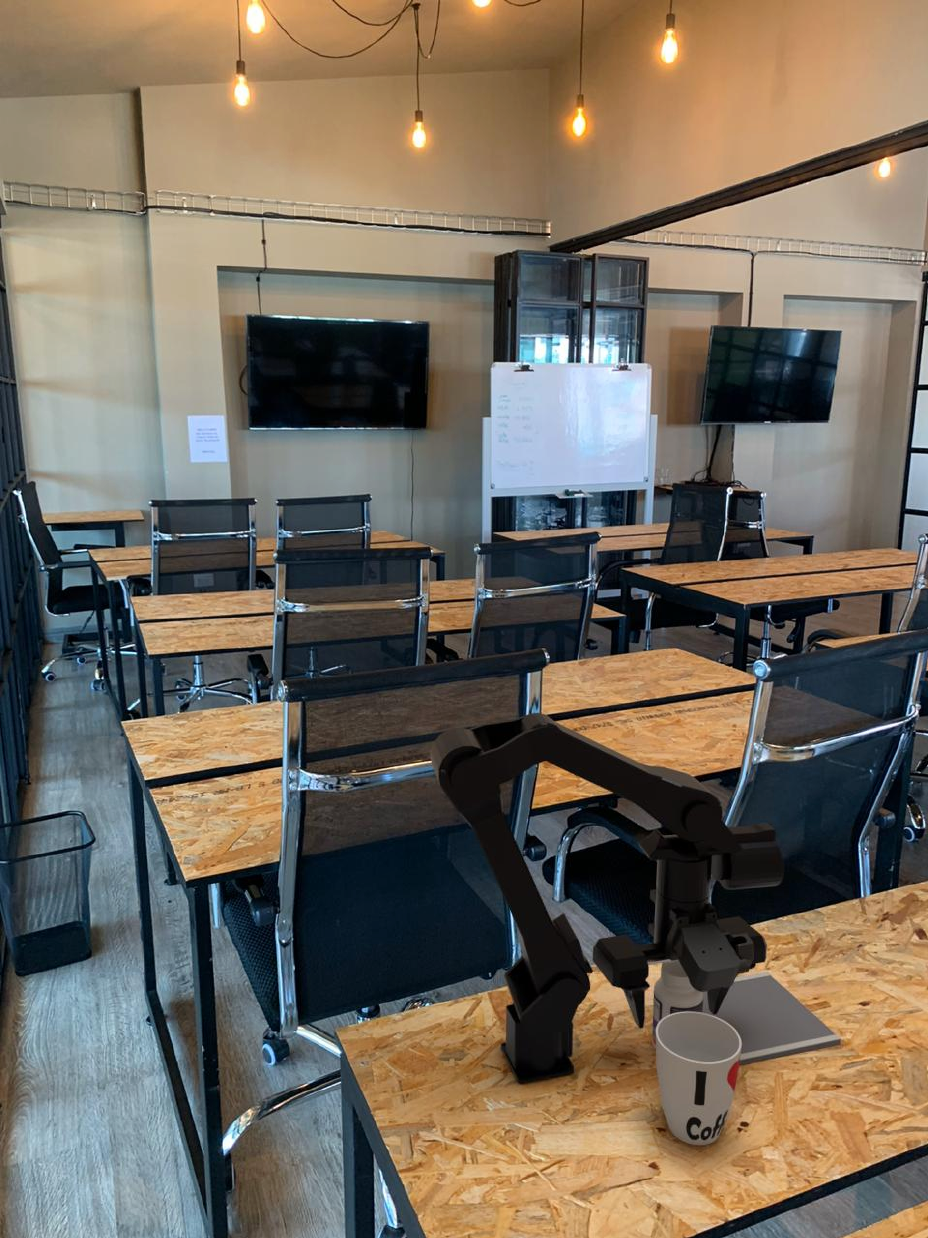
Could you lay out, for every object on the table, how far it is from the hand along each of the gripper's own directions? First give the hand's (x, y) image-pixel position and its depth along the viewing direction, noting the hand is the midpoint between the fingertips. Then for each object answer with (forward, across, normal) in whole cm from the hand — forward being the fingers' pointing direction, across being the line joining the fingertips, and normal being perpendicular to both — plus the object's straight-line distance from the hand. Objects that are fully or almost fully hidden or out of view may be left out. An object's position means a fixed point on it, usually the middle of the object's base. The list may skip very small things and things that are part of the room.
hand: (676, 1019), depth 104 cm
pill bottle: (+4, 0, 0) cm, 4 cm away
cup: (+4, -4, -12) cm, 13 cm away
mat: (+3, +11, +2) cm, 12 cm away
